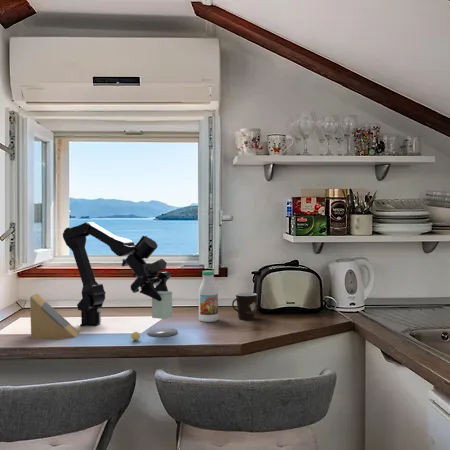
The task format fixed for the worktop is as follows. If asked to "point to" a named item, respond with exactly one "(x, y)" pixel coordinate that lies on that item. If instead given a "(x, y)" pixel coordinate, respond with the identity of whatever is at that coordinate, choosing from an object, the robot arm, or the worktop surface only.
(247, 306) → the coffee mug
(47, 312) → the sandwich container
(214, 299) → the milk bottle
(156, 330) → the coaster
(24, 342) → the worktop surface
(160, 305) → the pale green block
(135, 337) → the mustard ball
